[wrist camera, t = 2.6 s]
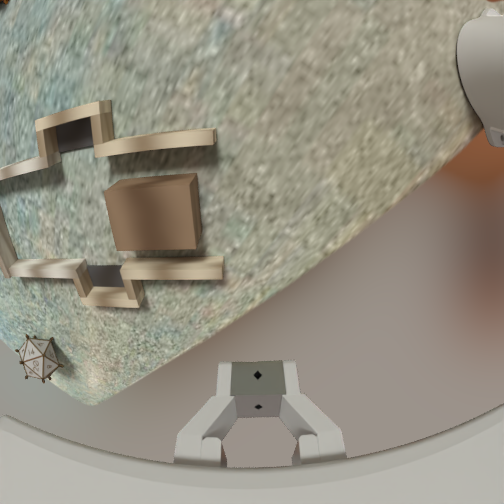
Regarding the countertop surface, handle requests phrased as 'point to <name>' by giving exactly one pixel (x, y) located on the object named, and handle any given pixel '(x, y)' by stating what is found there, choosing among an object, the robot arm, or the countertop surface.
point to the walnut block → (155, 212)
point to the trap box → (102, 137)
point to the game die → (38, 358)
